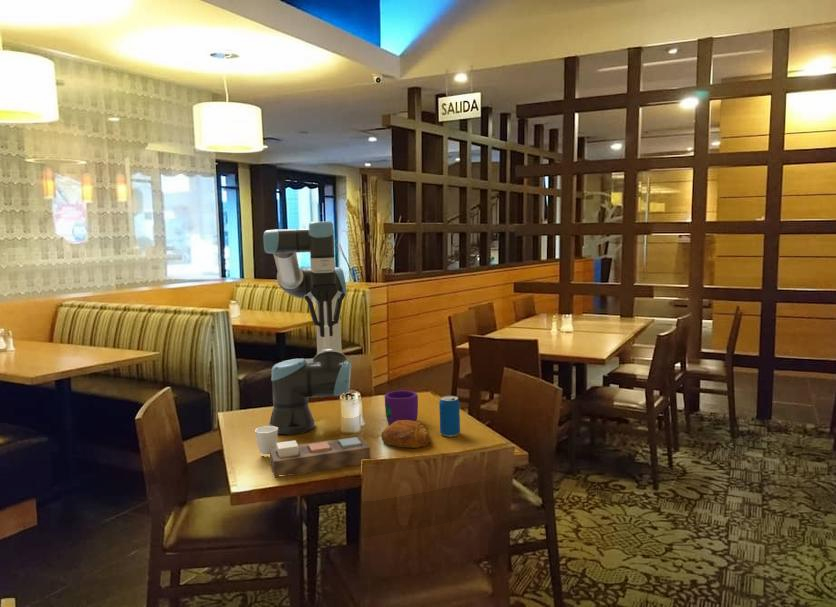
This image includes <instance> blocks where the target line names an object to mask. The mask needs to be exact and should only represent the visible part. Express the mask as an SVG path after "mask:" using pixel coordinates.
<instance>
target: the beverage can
mask: <svg viewBox="0 0 836 607" xmlns="http://www.w3.org/2000/svg"><path fill="white" fill-rule="evenodd" d="M438 404H439V432H440V434H441V435H442V436H443V437H446V436H447V437H448V438H449V437H450V438H452V437H453V436H454V437H456V436H458V435H459V434H460V433H461V415H460V414H461V413H460V401H459V396H455V395H444V396H441V397H440V400H439V402H438ZM454 437H453V438H454Z"/></svg>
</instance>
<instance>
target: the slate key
mask: <svg viewBox="0 0 836 607" xmlns="http://www.w3.org/2000/svg"><path fill="white" fill-rule="evenodd" d="M349 438H350V439H344V438H341V439H342V440H339V445H340V447H341V448H342V449H343V448H350V447H357V446H361V442H360V441H359V440H358V439H357V438H351V437H349Z"/></svg>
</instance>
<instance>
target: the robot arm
mask: <svg viewBox="0 0 836 607" xmlns="http://www.w3.org/2000/svg"><path fill="white" fill-rule="evenodd" d="M334 234H335V230H334V224H333V222H332V221H310V222H309V224H308V228H294V229H293V228H291V229H290V228H289V229H286V228H285V229H284V228H283V229H276V228H275V229H268V230H265V231H264V232H263V237H262V239H263V250H264V253H266V254H271V255H273V258H274V262H275V266H276V270H277V273H276V281H277V283H278V286H279V287H280V288H281V289H282V291H284V292H285V293H287V294H288V295H290V296H292V297H294V298H297V299H302V300H303V299H304V300H305V301H306V303H307V306H308V309H309V313H310V316H311V319H312V320H311V321H312V322H313V324H314V326H316V349H317V350H316V355H315V356H314V357H313V359H312V362H307V361H306V358H291V359H287V360H283V361H281V362H280V361H279V362H278V363H275V364H274V365H273V366H272V368H271V379H270V381H271V387H272V388H271V389H272V404H273V408H272V412H271V416H270V419H269V423H268V424H269V425H268V426H275V427H278V434H294V435H298V434H297V433H300V434H303V433H302V432H304V433H306V432H305V431H308V430H310V431H312V430H313V429H315V419H314V416H313V415H312V411H311V408H310V405H309V398H319V397H320V398H321V397H323V398H324V397H338V396H343V395H342V394H343V393H347V394H348V393H349V391H350V388H351V386H350V385H351V373H352V362H351V360H348V359H347V356H346V355H345V354H344V353H343V352H342V351H343V348H342V334H341V333H342V332H341V331H342V330H341V329H342V328H341V308H342V305H343V300H344V298H345V297H347V284H346V278H345V274H344V270H343V269H342V268H341V267H338V266H336V258H335V256H336V255H335V235H334ZM297 253H309V254H310V256H309V257H310V258H309V260H310V262H309V263H310V267H299V266H300V265H299V260H298V255H297ZM314 305H315V307H314ZM312 428H313V429H312ZM311 429H312V430H311ZM308 432H309V431H308Z"/></svg>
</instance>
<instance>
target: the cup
mask: <svg viewBox="0 0 836 607" xmlns="http://www.w3.org/2000/svg"><path fill="white" fill-rule="evenodd" d="M254 435H255V440H256V444H257V448H258V451H259V453H260V454H270V451H269V449H272V448H277V445H276V443H278V436H279V435H278V427H275V426H269V425H264V426H260V427H256V428H255V430H254Z"/></svg>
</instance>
